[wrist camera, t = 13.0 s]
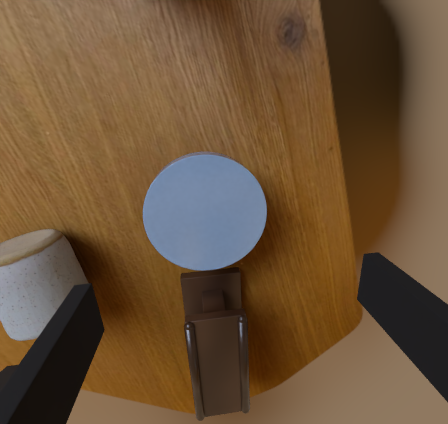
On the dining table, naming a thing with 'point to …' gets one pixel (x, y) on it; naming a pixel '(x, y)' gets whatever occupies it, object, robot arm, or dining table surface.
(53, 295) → the ceramic mug
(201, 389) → the plate rack
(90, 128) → the dining table surface
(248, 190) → the side plate
